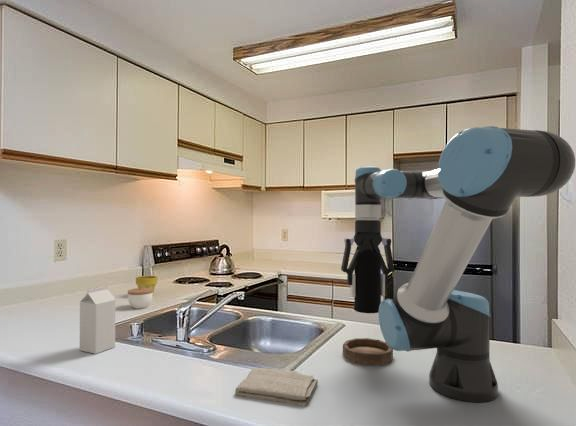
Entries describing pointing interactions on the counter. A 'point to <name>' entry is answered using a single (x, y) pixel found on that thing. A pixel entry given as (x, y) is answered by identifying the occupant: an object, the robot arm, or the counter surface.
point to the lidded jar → (140, 297)
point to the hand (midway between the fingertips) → (367, 295)
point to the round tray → (367, 351)
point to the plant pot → (146, 282)
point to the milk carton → (97, 321)
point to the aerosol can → (368, 282)
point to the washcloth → (278, 386)
